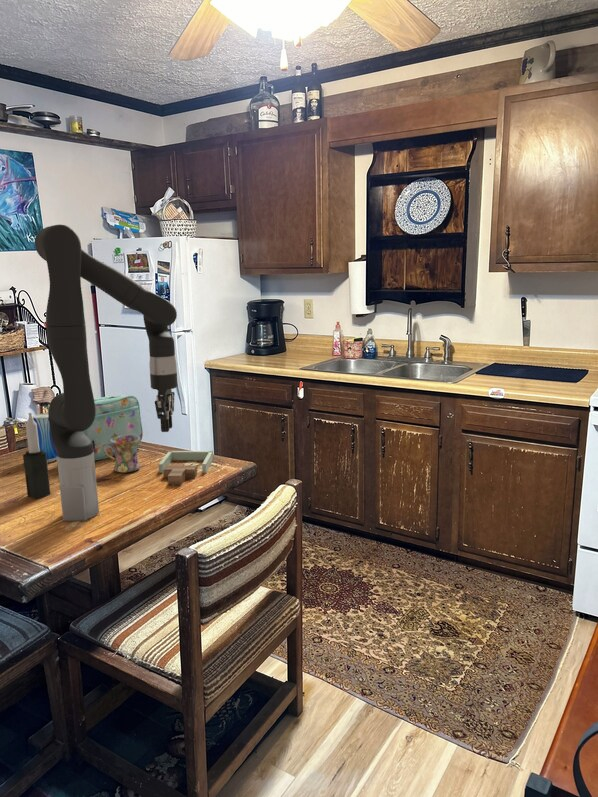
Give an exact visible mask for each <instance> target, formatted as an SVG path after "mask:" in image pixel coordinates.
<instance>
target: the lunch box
mask: <svg viewBox="0 0 598 797" xmlns="http://www.w3.org/2000/svg"><path fill="white" fill-rule="evenodd" d="M94 402H95V409H96V414H95V419H94V422H93V423H92V425H91V426H90V427H89V428H88V429H87V430H84V431H85V433H86V435H87V436H88V437H89V439H90V440H91V441H92V443H93V449H94V461H100V460H101V461H102V460H104V459H107V458H109V457H108V456H107V455H106V454H105V453H104V452H103V449H102V447H103V445H104V444H111V442H110V440H111V439H112V438H115V437H118V436H125V435H133V436H138V437H139V438H140V439H139V442H138V446H139V445H140V444H141V442H142V440H143V435H144V434H143V433H144V432H143V426H142V419H141V410H140V403H139V400H138V399H137V397H136V396H134V395H121V394H115V395H108V396H102V397H96V398H94ZM111 445H112V444H111ZM104 450H105V452H106V453H107V454H108V455H109V456H111V457H113V456H115V451H114V450H113V448H112V447H111V446H110V445H105V446H104Z"/></svg>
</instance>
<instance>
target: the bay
mask: <svg viewBox="0 0 598 797" xmlns="http://www.w3.org/2000/svg"><path fill="white" fill-rule="evenodd" d="M213 460H214V450H168V451H167V453H166V454H165V456H164V457H163V458H162V459H161V460H160V462H159V463H158V473H159V474H163V469H164V468H165V466H166V465H170V464H171V462H173V461H203V462H202V464H201V466H202V468H201V469H202V474H206V473H207V472H208V470H209V468H210V467H211V465H212V463H213Z"/></svg>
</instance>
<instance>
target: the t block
mask: <svg viewBox="0 0 598 797" xmlns="http://www.w3.org/2000/svg"><path fill="white" fill-rule="evenodd" d="M162 475H163V479H167V483H168V484H167V485H168V486H181V485H183V483H184V482H185V480H186V479H196V477H197V476H198V465H191V464H190V465H185V464H183V465H174V464H173V465H172V464H171V465H170V464H169V465H166V466H165V468H164V469H163V473H162Z"/></svg>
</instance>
